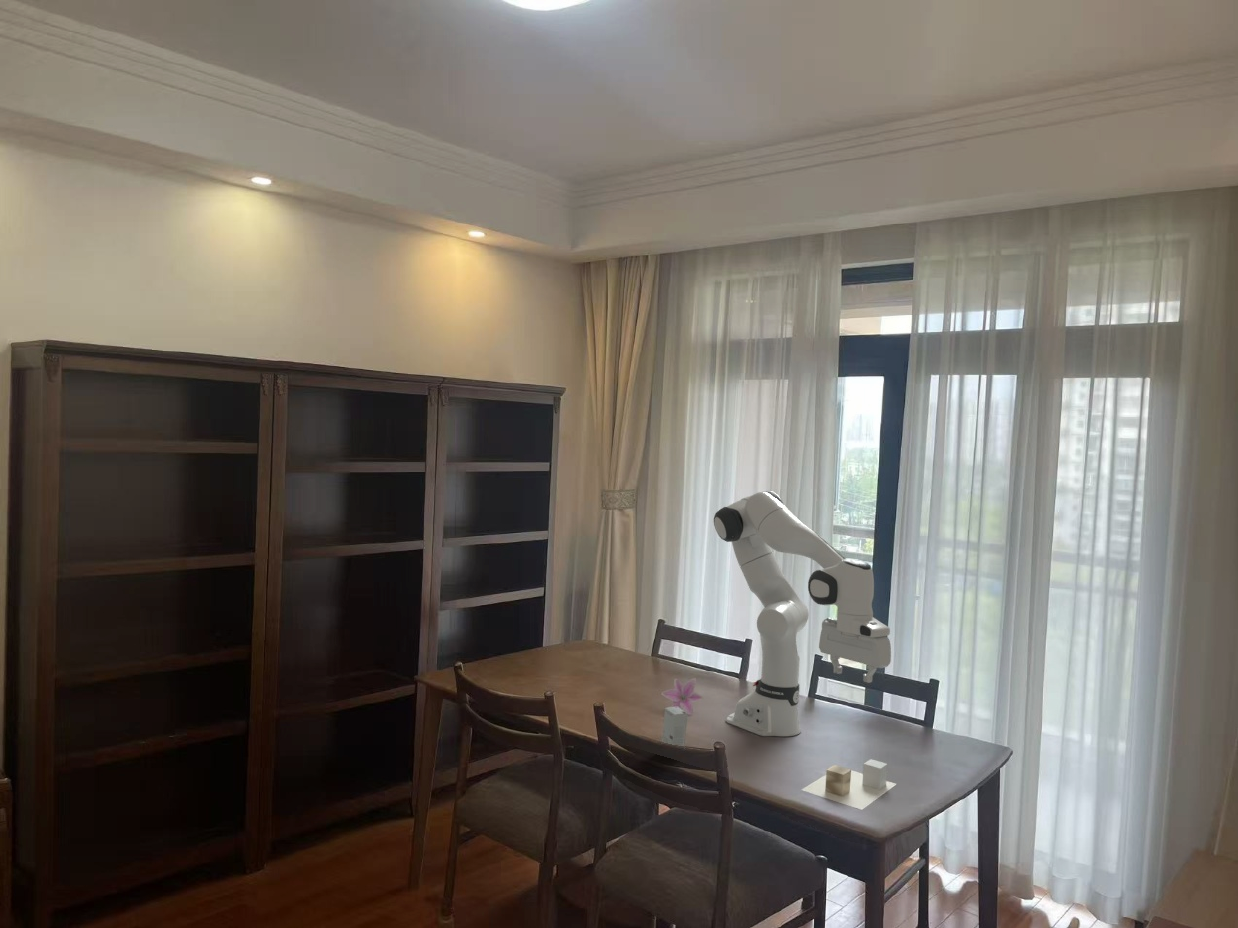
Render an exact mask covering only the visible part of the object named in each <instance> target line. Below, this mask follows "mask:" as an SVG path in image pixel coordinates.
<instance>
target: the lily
mask: <svg viewBox="0 0 1238 928" xmlns="http://www.w3.org/2000/svg"><path fill="white" fill-rule="evenodd" d="M673 683H674V686H673V687H674V688H670V689H666V690H663V691H662V692H660V694H661V695H662V696H663V697H665V698H666V699H668V700H669V701H672V703H671V707H677V706H678V707H679V708H680V709H682V710H684V711H685V712H686V713H687V714H688V715H689V716H693V715H694V702H698V701H701V700H703V699H704V697H703V696H702V695H700V694H698V693H697V692H695V688H696V685H697V677H694V678H690V679H689V680H688V681H686V682H685V683H683V682H681V680H679V679H678V678H674V682H673Z"/></svg>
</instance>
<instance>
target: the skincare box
mask: <svg viewBox="0 0 1238 928" xmlns="http://www.w3.org/2000/svg"><path fill="white" fill-rule="evenodd" d="M688 715H689V714H688V713H687V712H686V711H685V710H684V709H683V708H681V707H680V708H679V707H678V706H677V707H672V706H668V707H665V708H664V716H663V727H662V740H661V743H662V742H664V743H668V744H672V745H678V746H684V747H685V745H686V737H687V736H686V735H687V726H688V725H687V724H688Z"/></svg>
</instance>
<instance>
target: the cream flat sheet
mask: <svg viewBox="0 0 1238 928" xmlns="http://www.w3.org/2000/svg"><path fill="white" fill-rule="evenodd" d="M850 770H851V780H850V792H848V793H847V794H845V795H844V796H842V797H841V796H838V795H835V794H832V793H829V792H826V791H825V787H826V774H825V775H822V776H821V777H820V778H818V779H816V780H815V781H814V782H811V783H810V784H809V785H807V786H805V787H803V788H801V791H803V792H805V793H809V794H811V795H815V796H817V797H821V798H824V799H826V800H830V801H833V802H836V803H839V804H842V805H845V806H848V807H850V808H851V807H852V808H854V809H857V810H860V811H863V810H864V809H866V807H868V806H869V805H871V804H872V803H874V802H875V801H876V800H877V799H879V798H881V796H883V795H884V794H885V793H887V792H888V791H890V790H891V789H892V788H894V787H895V786H896V785H897V783H895V782H891V781H888V780H886V785H885V786H884V787H883V788H881V789H880V790H877V789H874V788H871V787H868V786H865V785H862V781H863V772H862V773H861V772H859V771H855V770H852V769H850Z"/></svg>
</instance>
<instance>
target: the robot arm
mask: <svg viewBox="0 0 1238 928" xmlns="http://www.w3.org/2000/svg"><path fill="white" fill-rule="evenodd" d="M713 525H714V529H715V532H716V533H717V535H718V537H720V539H721V540H723V541H724V542H726V543H731V544H732V548H733V552H734V555H735V558H736V561H737V564H738V565H739V567H740V570H741V572H742V575H743V576H744V579H745V581H746V583H747V586H748V589H749V591H751V592H752V593H753V594H754V595H755V596H756V597H757V598H758V599H759V601H760V602H761V604H762V605H763V607H764V608H763V609H762V610H761V612H759V615H758V616H757V620H756V628H757V632H759V634H760V635H759V637H760V645H761V653H762V654H761V656H762V660H761V678H760V679H757V680H756V681H755V682H752V687H755V689H754V690H753V691H752V692H749V694H747V695H746V696H745V695H744V697H742V698H740V699H739V700H738V701H737V703H736V705H735V707H734V708H735V709H734V712H733V713H731V714H729V715H727V718H726V723H727V724H730V725H732V726H735V727H737V728H740V729H743V730H745V731H748V732H751V733H753V734H754V735H755V734H756V735H758V736H761V737H792V736H797V735H798V734H800V733H801V732H802V729H801V725H800V720H799V719H800V718H799V709H798V707H799V706H798V704H799V701H800V700H799V699H800V683H799V675H800V663H801V662H800V656H799V654H798V653H799V652H798V646H797V634H798V632H801V631H802V630H803V629H804V628H805V626H806V625H807V622H808V620H809V609H808V606H807V605H806V603H805V602H804V601H802V600H801V599H800V598H799V596H798V594H797V592H796V590H794V588H793V587H792V585H791V584H790V583H789V581H788V579H787V578H786V576H785V575H784V573H783V570H782V568H781V566H780V564H779V561H778V559H777V557H776V555H775V553H774V551H776V552H779V553H784V554H791V555H798V556H802V557H806V558H809V559H811V560H813V561H814V562H816V563H817V564H818V565H819V566H820V567H821V568H820V569H817V570H814V571H813V572H812V573H811V574H810V576H809V579H808V581H807V590H808V594H809V597H810V598H811V600H813V602H814V603H816V604H818V605H822V606H836V607H837V610H836V619H834V618H832V617H826V618H825V619H823V620H822V623H821V630H820V634H819V635H820V636H819V642H818V648H819V650H820V652H821V653H822V654H825V655H826V654H827V655H829V659H830V662H831V664H832V666H833V674H836V675H841V674H842V673H843V667H844V666H841V664H840V661H839V659H844V660H848V661H852V662H855V663H860V664H862V665H866V669H867V670H868V671H867V673H864V674H863V676H862V677H863V678H862V680H863V682H865V683H868V684H870V683H872V682H873V676H874V674H875V673H876V671H877V669H883V668H888V667H889V666H890V664H891V661H892V655H891V654H892V651H891V650H892V647H891V641H890V639H889V637H888V636H889V635H890V634H891V633H890V632H891V628H890V627H889V626H887V625H886V624H884V623H882V622H881V621H880V620H878V619H877V618H876V617H874V611H873V606H872V603H873V600H874V594H875V592H874V591H875V581H874V580H875V579H874V578H875V577H874V571H873V567H872V566H871V565H870V563H868V562H867V561H864V560H860V559H857V558H847V557H846V556H844V555H843V554H842V553H841V552H840V551H838V549H836V548H835V547H834V546H833V545H832V544H831V543H829V542H828V541H827V540H826V539H825V538H823V537H822V536H821V535H820V534H818V533H817V532H816V531H814V530H812V529H811V528H809V527H808V526H807V525H805V524H804V522H802V521H801V520H800V519H798V518H797V517H796V516H795V515H794V514H793V513H792V512H791V511H790V510H789V509H788V508H787V506H785V505H784V502H783V500H782V498H781V497H780V496H779V495H778V494H777V493H776V492H774V491H773V490H765V491H759V492H756V493H754V494H752V495H750V496H746V497H744V498H743V497H742V498H741V499H740V500H737V501H736V502H733V503H731V504H729V505H728V506H724V507H721V508H720V509H719V510H717V511H716V512H715V514H714V516H713ZM773 550H774V551H773Z"/></svg>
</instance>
